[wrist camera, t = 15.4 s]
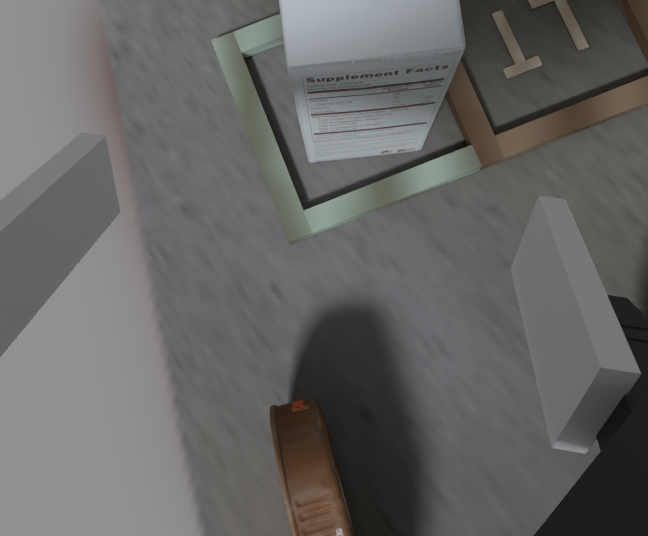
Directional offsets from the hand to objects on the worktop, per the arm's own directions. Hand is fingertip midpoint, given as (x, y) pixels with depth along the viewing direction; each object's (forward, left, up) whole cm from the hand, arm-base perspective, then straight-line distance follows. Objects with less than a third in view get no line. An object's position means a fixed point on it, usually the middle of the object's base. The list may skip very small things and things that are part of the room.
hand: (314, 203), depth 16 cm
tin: (+5, +14, -16) cm, 22 cm away
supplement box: (-6, -9, -16) cm, 19 cm away
